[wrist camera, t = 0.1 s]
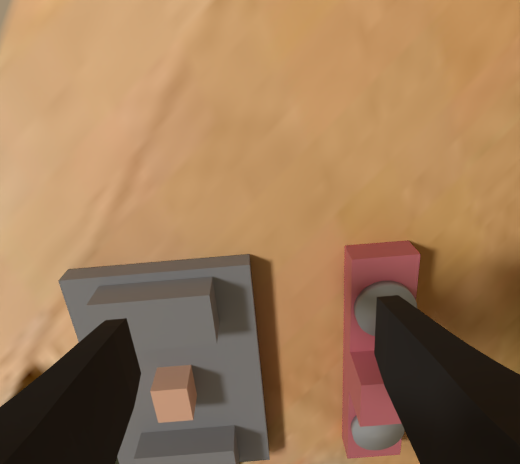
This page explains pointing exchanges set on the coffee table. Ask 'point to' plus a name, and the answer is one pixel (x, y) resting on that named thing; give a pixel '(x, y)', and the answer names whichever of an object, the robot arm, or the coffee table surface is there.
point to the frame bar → (371, 344)
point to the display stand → (183, 356)
